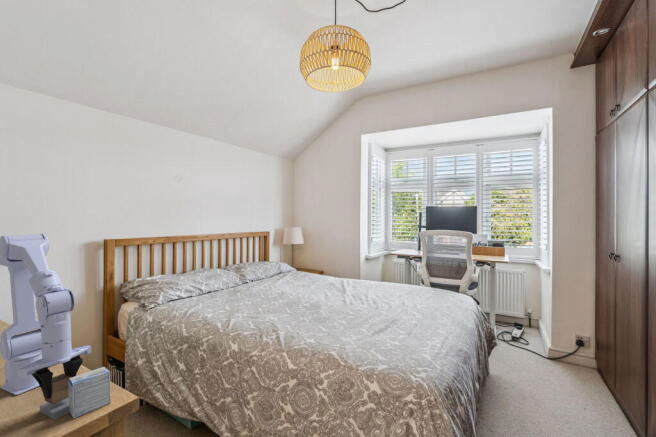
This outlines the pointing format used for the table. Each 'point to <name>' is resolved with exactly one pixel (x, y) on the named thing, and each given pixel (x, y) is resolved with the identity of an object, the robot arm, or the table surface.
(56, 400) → the walnut cube
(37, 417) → the table surface
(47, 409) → the slate block
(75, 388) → the medicine box
